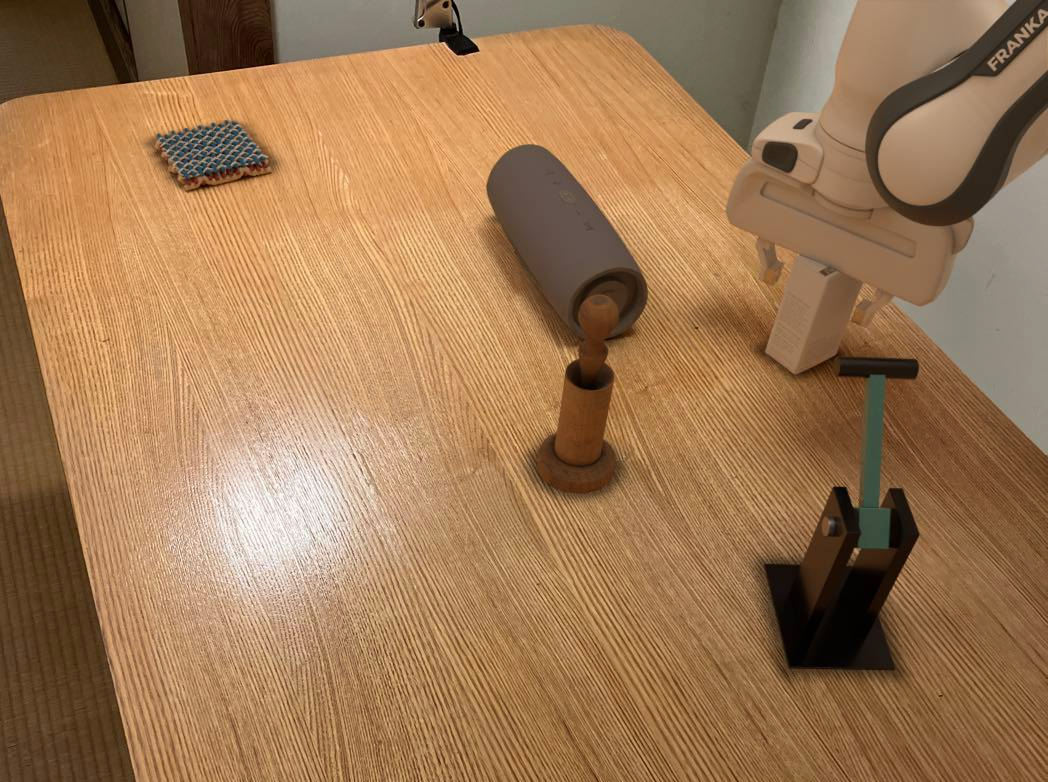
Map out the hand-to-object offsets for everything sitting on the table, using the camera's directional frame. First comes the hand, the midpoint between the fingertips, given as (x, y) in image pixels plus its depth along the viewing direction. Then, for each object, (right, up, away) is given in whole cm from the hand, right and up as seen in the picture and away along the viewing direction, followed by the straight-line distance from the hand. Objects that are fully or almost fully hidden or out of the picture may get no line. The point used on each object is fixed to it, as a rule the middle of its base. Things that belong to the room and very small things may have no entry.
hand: (814, 300), depth 99 cm
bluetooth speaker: (-23, +4, +12) cm, 26 cm away
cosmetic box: (0, -5, +6) cm, 7 cm away
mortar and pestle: (-23, -17, -7) cm, 29 cm away
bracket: (-4, -29, -16) cm, 33 cm away
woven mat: (-62, +21, +23) cm, 69 cm away
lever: (-3, -16, -23) cm, 29 cm away
